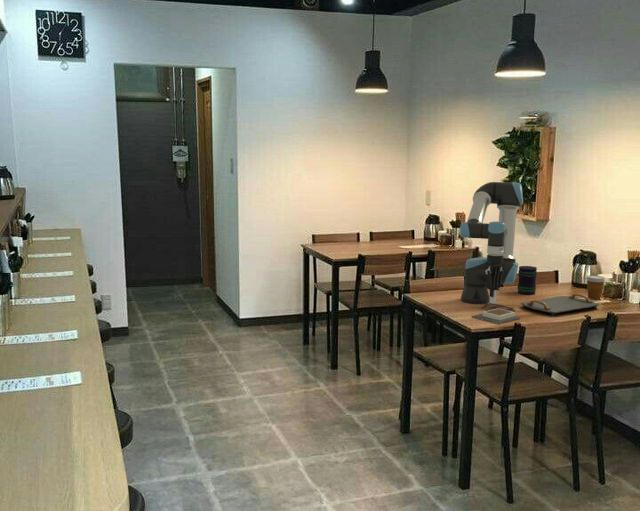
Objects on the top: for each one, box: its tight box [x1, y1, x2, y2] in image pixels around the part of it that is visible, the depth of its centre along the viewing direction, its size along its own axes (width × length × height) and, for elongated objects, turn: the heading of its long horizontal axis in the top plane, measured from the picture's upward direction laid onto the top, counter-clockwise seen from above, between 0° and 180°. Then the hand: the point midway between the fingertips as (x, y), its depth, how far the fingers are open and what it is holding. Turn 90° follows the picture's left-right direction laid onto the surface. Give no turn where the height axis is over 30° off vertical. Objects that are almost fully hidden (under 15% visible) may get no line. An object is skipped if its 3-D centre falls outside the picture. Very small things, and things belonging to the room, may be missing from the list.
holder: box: [481, 302, 516, 313], centre depth 317 cm, size 14×8×3 cm, turn 38°
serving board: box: [520, 293, 600, 317], centre depth 322 cm, size 39×23×6 cm, turn 119°
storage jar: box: [517, 265, 538, 296], centre depth 355 cm, size 10×10×15 cm
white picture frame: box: [482, 308, 516, 320], centre depth 304 cm, size 10×2×12 cm
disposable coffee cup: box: [585, 275, 606, 300], centre depth 344 cm, size 10×10×12 cm
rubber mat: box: [471, 312, 521, 325], centre depth 303 cm, size 16×16×1 cm
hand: (492, 303), depth 300 cm, fingers closed
